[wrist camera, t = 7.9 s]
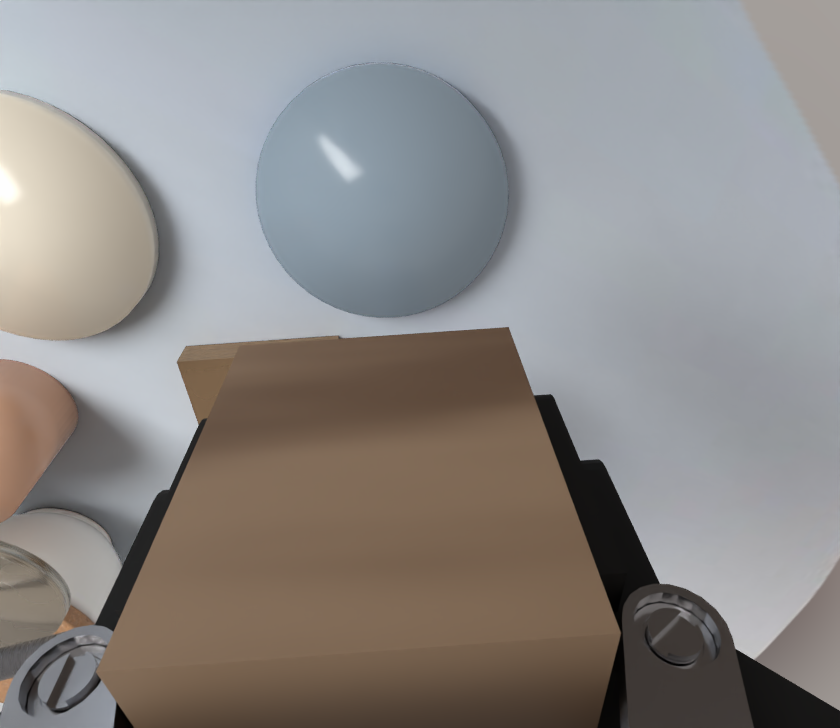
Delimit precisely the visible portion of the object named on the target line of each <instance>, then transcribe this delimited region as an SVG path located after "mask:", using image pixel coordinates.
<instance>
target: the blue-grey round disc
mask: <svg viewBox="0 0 840 728" xmlns="http://www.w3.org/2000/svg"><path fill="white" fill-rule="evenodd" d="M508 199H509V197H508V179H507V173H506V166H505V163H504V159H503V156H502V153H501V150H500V147H499V145H498V143H497V141H496V138H495V136H494V134H493V132H492V131H491V129H490V128H489V126H488V124H487V123H486V121H485V120H484V118H483V117H482V116H481V115H480V113H479V112H478V111H477V110H476V109H475V107H474V106H473V105H472V104H471V103H470V101H469V100H468V99H467V98H465V97H464V96H463V95H462V94H461V93H460V92H459V91H458V90H456V89H455V88H454V87H452V86H451V85H449V84H448V83H446V82H445V81H443V80H442V79H440V78H438V77H436V76H434V75H432V74H430V73H428V72H426V71H423V70H420V69H417V68H414V67H410V66H407V65H401V64H394V63H366V64H358V65H353V66H349V67H346V68H343V69H339V70H336V71H334V72H332V73H330V74H328V75H326V76H324V77H321V78H320V79H318V80H317V81H315V82H314V83H312V84H311V85H309V86H308V87H306V88H305V89H304V90H303V91H302V92H301V93H300V94H299V95H298V96H297V97H295V98H294V99H293V100H292V101H291V102H290V103H289V105H288V106H287V107H286V108H285V110H284V111H283V112H282V113H281V114H280V116H279V117H278V118H277V120H276V122H275V123H274V125H273V127H272V128H271V130H270V132H269V134H268V136H267V138H266V141H265V143H264V145H263V148H262V151H261V155H260V159H259V163H258V168H257V176H256V202H257V209H258V216H259V219H260V223H261V226H262V230H263V233H264V235H265V237H266V240H267V242H268V244H269V247H270V248H271V250H272V252H273V253H274V255H275V257H276V259H277V260H278V261H279V263H280V264H281V265H282V267H283V268H284V269H285V271H286V272H287V273H288V274H289V275H290V276H291V277H292V278H293V279H294V280H295V281H296V282H297V283H298V284H299V285H300V286H301V287H302V288H304V289H305V290H306V291H307V292H309V293H310V294H312V295H313V296H315V297H316V298H318V299H319V300H321V301H323V302H325V303H327V304H329V305H331V306H333V307H335V308H338V309H340V310H343V311H346V312H349V313H353V314H358V315H362V316H369V317H379V318H380V317H400V316H408V315H412V314H416V313H420V312H423V311H426V310H429V309H431V308H434V307H436V306H438V305H440V304H442V303H444V302H446V301H448V300H450V299H451V298H453V297H454V296H456V295H457V294H458V293H460V292H461V291H462V290H464V289H465V288H466V287H467V286H468V285H469V284H470V283H472V282H473V280H474V279H475V278H476V277H477V276H478V275H479V274H480V273H481V272H482V270H483V269H484V267H485V266H486V265H487V263H488V262H489V260H490V259H491V257H492V255H493V253H494V251H495V249H496V247H497V246H498V243H499V240H500V238H501V235H502V232H503V229H504V225H505V221H506V217H507V209H508Z"/></svg>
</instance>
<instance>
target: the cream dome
mask: <svg viewBox="0 0 840 728" xmlns="http://www.w3.org/2000/svg"><path fill="white" fill-rule="evenodd" d="M158 258H159V241H158V232H157V227H156V223H155V219H154V215H153V212H152V209H151V207H150V204H149V202H148V199H147V197H146V195H145V193H144V191H143V190H142V188H141V186H140V184H139V182H138V181H137V179H136V178H135V176H134V175H133V173H132V172H131V170H130V169H129V167H128V166H127V165H126V164H125V163H124V161H123V160H122V159H121V158H120V157H119V155H118V154H117V153H116V152H115V151H114V150H113V149H112V148H111V147H110V146H109V145H108V144H107V143H106V142H105V141H104V140H103V139H102V138H101V137H99V136H98V135H97V134H96V133H94V132H93V131H92V130H91V129H89V128H88V127H87V126H86V125H84V124H83V123H81V122H80V121H78V120H77V119H75V118H74V117H72V116H70V115H69V114H67V113H65V112H64V111H62V110H60V109H58V108H56V107H54V106H52V105H50V104H48V103H45V102H43V101H40V100H38V99H35V98H32V97H30V96H26V95H23V94H19V93H15V92H11V91H6V90H0V330H2V331H5V332H9V333H12V334H16V335H19V336H24V337H29V338H34V339H43V340H72V339H80V338H85V337H89V336H92V335H96V334H98V333H101V332H103V331H106V330H108V329H109V328H111V327H113V326H114V325H116V324H118V323H119V322H120V321H122V320H123V319H124V318H125V317H126V316H127V315H128V314H129V313H130V312H131V311H132V310H133V308H134V307H135V306H136V305H137V304H138V302H139V301H140V300H141V299H142V298H143V296H144V295H145V294H146V292H147V290H148V289H149V287H150V285H151V284H152V281H153V278H154V276H155V273H156V269H157V264H158Z"/></svg>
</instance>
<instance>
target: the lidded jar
mask: <svg viewBox="0 0 840 728" xmlns="http://www.w3.org/2000/svg"><path fill="white" fill-rule="evenodd" d="M0 541H3V542H6V543H9V544H12V545H15V546H17V547H20V548H22V549H24V550H26V551H28V552H30V553H32V554H34V555H36V556H38V557H39V558H41V559H42V560H44V561H45V562H47V563H48V564H49V565H50V566H52V567H53V568H54V569H55V570H56V571H57V572H58V573H59V574H60V575H61V576H62V578H63V579H64V580H65V582H66V584H67V586H68V587H69V590H70V594H71V605H70V608H69V610H68V612H67V614H66V616H65V618H64V620H63V622H62V624H61V626H60V627H59V628H58V630H57V631H56V632H55V633H54V634H58V633H62V632H65V631H68V630H71V629H73V628H77V627H82V626H88V625H93V624H95V623H96V621H97V619H98V617H99V615H100V613H101V610H102V608H103V606H104V604H105V602H106V600H107V598H108V596H109V594H110V592H111V589H112V587H113V585H114V583H115V581H116V579H117V577H118V575H119V573H120V571H121V568H122V565H121V562H120V559H119V557H118V555H117V553H116V551H115V549H114V548H113V546H112V541H111V538H110V536H109V535H108V533H107V532H106V531H105V530H104V529H103V528H102V527H101V526H100V525H99V524H98V523H96V522H95V521H93V520H92V519H90V518H88V517H86V516H84V515H81V514H79V513H76V512H73V511H69V510H64V509H57V508H41V509H35V510H31V511H28V512H26V513H24V514H18V515H14V516H11V517H10V518H8V519H7V520H5V521H3V522H1V523H0ZM54 634H53V635H54ZM12 680H13V678H10V679H6V680H2V681H0V702H1V703H4V701H5V697H6V694H7V691H8V689H9V687H10V684H11V682H12Z"/></svg>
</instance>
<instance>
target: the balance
mask: <svg viewBox="0 0 840 728" xmlns="http://www.w3.org/2000/svg"><path fill="white" fill-rule="evenodd" d="M329 339H339V336H326V337H312V338H298V339H283V340H269V341H255V342H241V343H226V344H212V345H198V346H186V347H185V349H184V350H183V352H182V354H181V356H180V357H179V359H178V361H177V364H178V367H179V370H180V372H181V375H182V378H183V381H184V384H185V387H186V390H187V392H188V395H189V398H190V401H191V404H192V407H193V410H194V413H195V415H196V418H197V421H198V424H200V422H201V420H203V419H205V418H208V416H209V414H210V412H211V409H212V407H213V405H214V403H215V400H216V398H217V396H218V394H219V391H220V389H221V387H222V384H223V382H224V380H225V378H226V375H227V373H228V371H229V369H230V366H231V364H232V362H233V360H234V357H235V355H236V353H237V350H238V348H239V346H242V345H256V344H271V343H285V342H300V341H315V340H329ZM70 605H71V594H70V590H69V587H68V586H67V584H66V582H65V580H64V579H63V578H62V576H61V575H60V574H59V573H58V572H57V571H56V570H55V569H54V568H53V567H52V566H50V565H49V564H48V563H47V562H45V561H44V560H42V559H41V558H39V557H38V556H36V555H34V554H32V553H30V552H28V551H26V550H24V549H22V548H20V547H17V546H15V545H12V544H9V543H6V542H3V541H0V681H2V680H6V679H10V678H13V677H14V676H15V674H16V673H17V671H18V670H19V669H20V667H21V666H22V665H23V663H24V662H25V661H26V660H27V659H28V658H29V657H30V656H31V655H32V654H33V653H34V652H35V651H36V650H37V649H38V648H39V647H40V646H42V645H43V644H45V643H46V642H48V641H49V640H51V639H52V638H54V637H55V636H57V635H59V634H61V633H58V634H54V633H55V632H56V631H57V630H58V628H59V627H60V626H61V624H62V622H63V620H64V618H65V616H66V614H67V612H68V610H69V608H70ZM93 625H95V624H93ZM65 632H66V631H65ZM62 633H64V632H62ZM53 634H54V635H53Z"/></svg>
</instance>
